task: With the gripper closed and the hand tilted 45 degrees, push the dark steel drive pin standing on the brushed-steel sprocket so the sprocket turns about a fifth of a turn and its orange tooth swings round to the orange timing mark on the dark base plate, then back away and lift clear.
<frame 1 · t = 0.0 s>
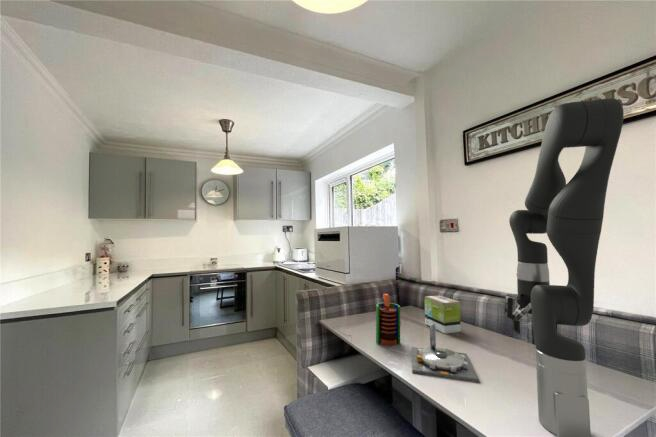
hand: (534, 334, 78), 17 cm above the table, tool pointing down, fingers open, 8 cm apart
tea box: (442, 328, 137), on the table
motor: (387, 342, 117), on the table
sprocket: (440, 345, 97), point 7 cm above the table, hinge at 0.0°
base plate: (441, 363, 97), on the table
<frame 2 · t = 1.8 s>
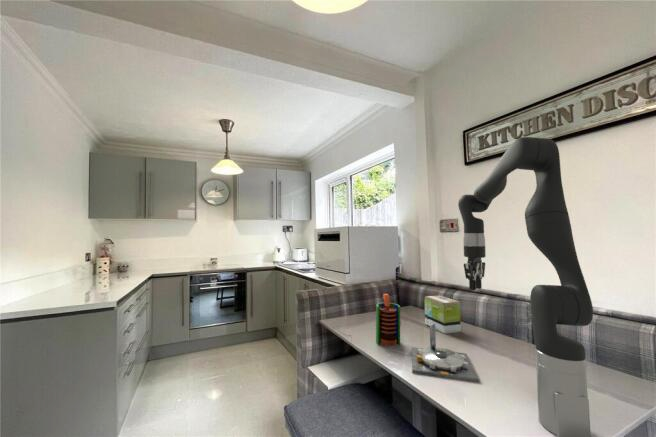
hand: (475, 289, 105), 25 cm above the table, tool pointing down, fingers open, 4 cm apart
nothing on the table moved.
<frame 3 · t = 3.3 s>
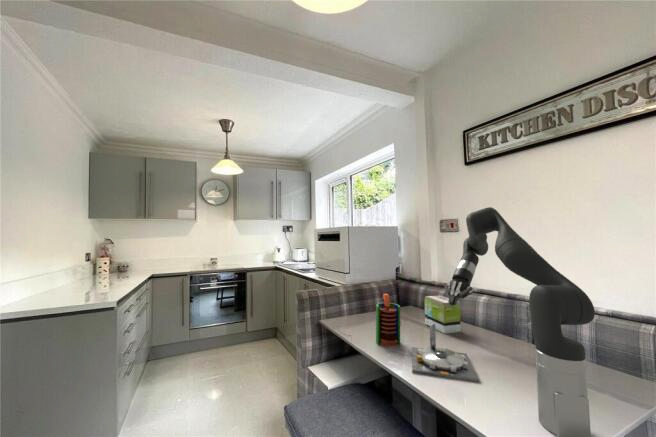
hand: (451, 304, 114), 17 cm above the table, tool tilted 45°, fingers closed
nothing on the table moved.
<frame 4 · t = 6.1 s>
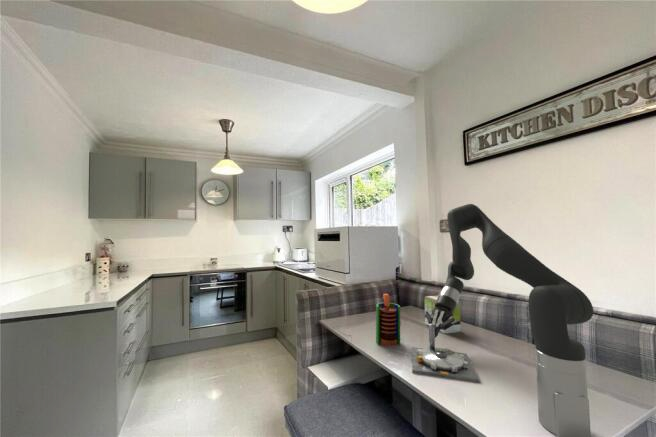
hand: (432, 336, 106), 7 cm above the table, tool tilted 45°, fingers closed
sprocket: (440, 345, 97), point 7 cm above the table, hinge at 3.1°, touching gripper
everything else where it was.
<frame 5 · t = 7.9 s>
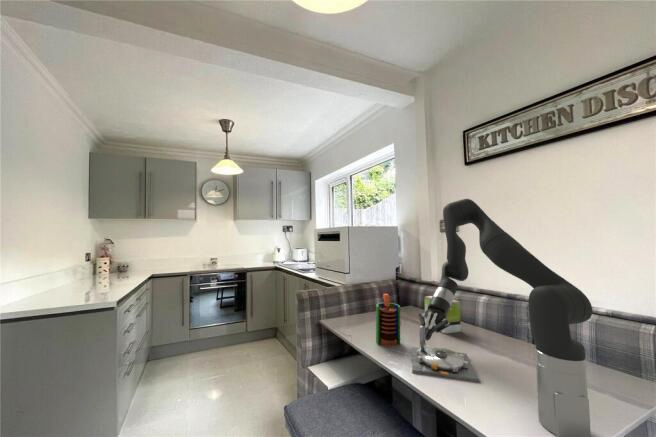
hand: (424, 339, 102), 7 cm above the table, tool tilted 45°, fingers closed
sprocket: (440, 345, 97), point 7 cm above the table, hinge at 49.6°, touching gripper
everything else where it was.
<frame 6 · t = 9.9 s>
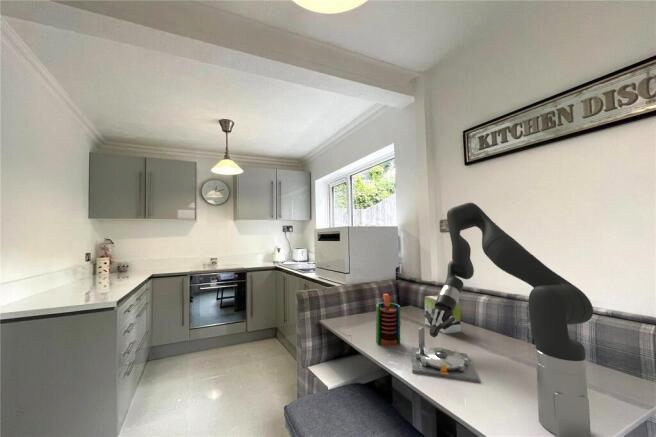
hand: (432, 335, 105), 7 cm above the table, tool tilted 45°, fingers closed
sprocket: (440, 345, 97), point 7 cm above the table, hinge at 69.1°
everything else where it was.
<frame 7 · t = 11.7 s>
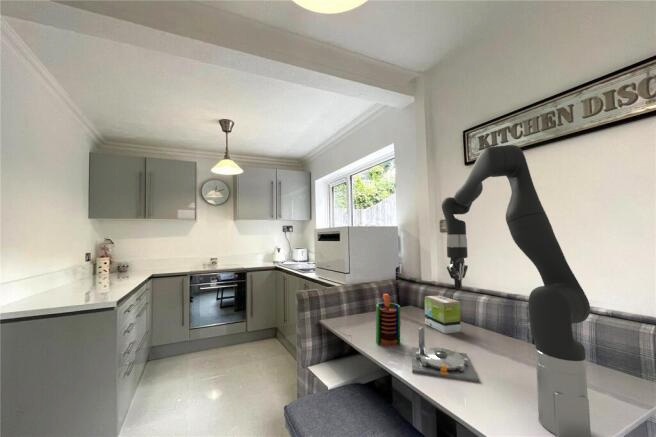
hand: (458, 289, 109), 24 cm above the table, tool pointing down, fingers closed
nothing on the table moved.
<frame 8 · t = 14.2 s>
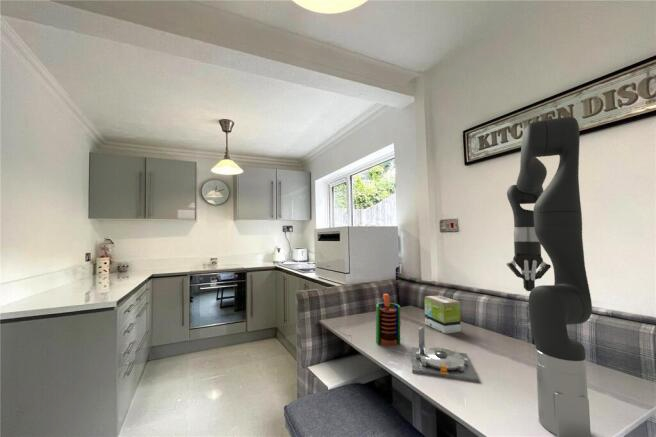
hand: (529, 290, 94), 27 cm above the table, tool pointing down, fingers closed
nothing on the table moved.
at the end: sprocket at +69° (first picture: +0°); sprocket touching nothing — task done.
